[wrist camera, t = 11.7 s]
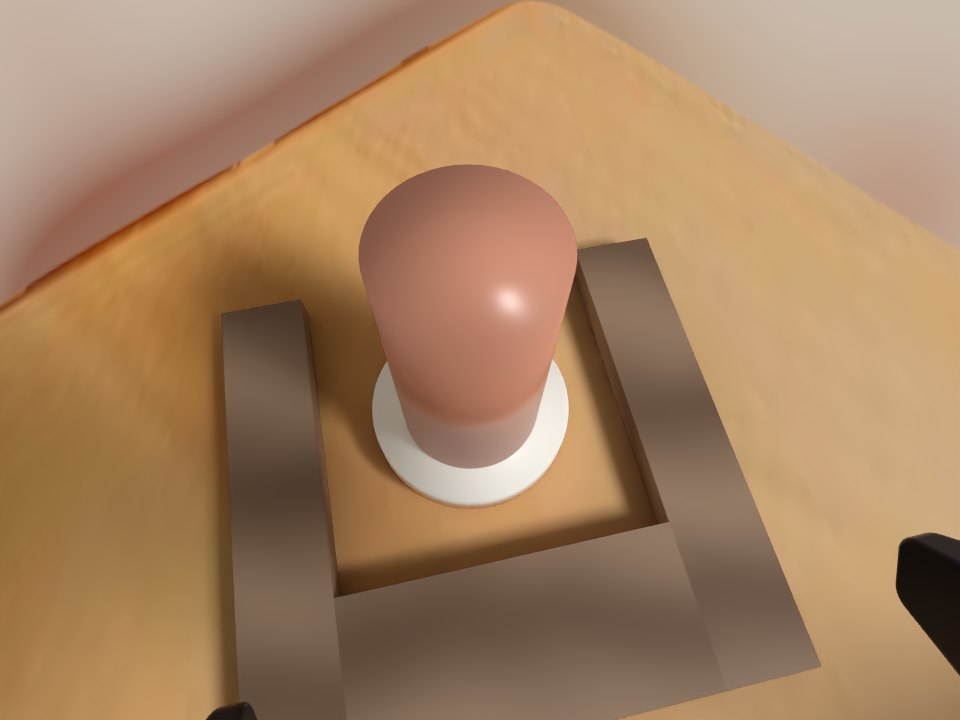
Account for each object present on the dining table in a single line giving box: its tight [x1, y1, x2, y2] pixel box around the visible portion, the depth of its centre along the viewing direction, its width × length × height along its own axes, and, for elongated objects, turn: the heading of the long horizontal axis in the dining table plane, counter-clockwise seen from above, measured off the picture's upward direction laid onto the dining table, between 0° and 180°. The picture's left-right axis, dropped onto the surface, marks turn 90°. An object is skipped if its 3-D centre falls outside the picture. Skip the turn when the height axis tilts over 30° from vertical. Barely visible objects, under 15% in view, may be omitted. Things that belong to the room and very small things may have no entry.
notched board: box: [221, 238, 821, 720], centre depth 21 cm, size 16×17×1 cm
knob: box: [359, 165, 577, 509], centre depth 18 cm, size 7×7×10 cm
